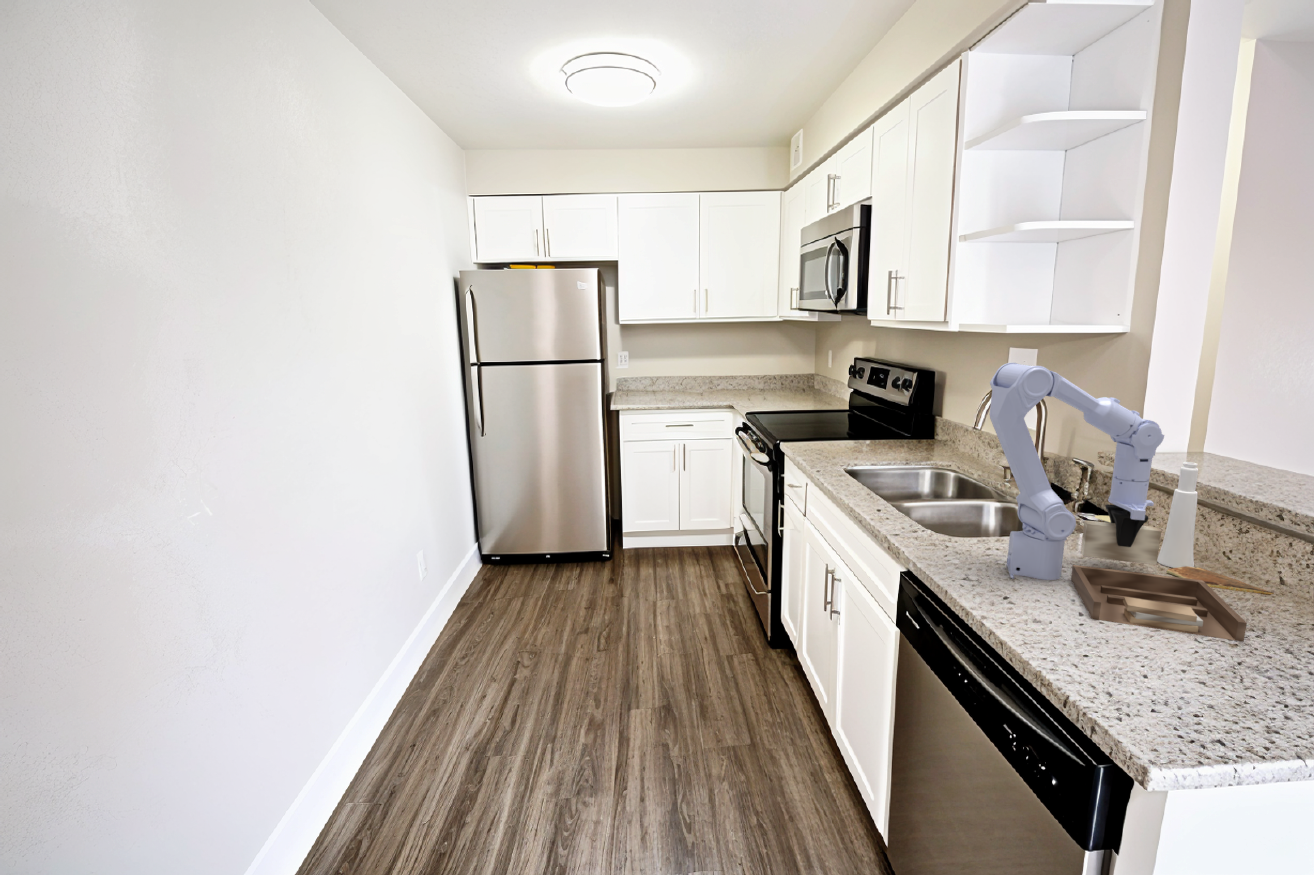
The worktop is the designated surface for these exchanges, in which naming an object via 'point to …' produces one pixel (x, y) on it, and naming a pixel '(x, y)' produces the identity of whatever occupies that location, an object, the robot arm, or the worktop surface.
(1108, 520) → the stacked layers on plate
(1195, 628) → the offcut bottom
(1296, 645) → the worktop surface
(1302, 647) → the worktop surface
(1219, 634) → the rack
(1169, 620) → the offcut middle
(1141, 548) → the birch sheet
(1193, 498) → the cosmetic bottle
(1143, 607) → the offcut top
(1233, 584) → the shard
